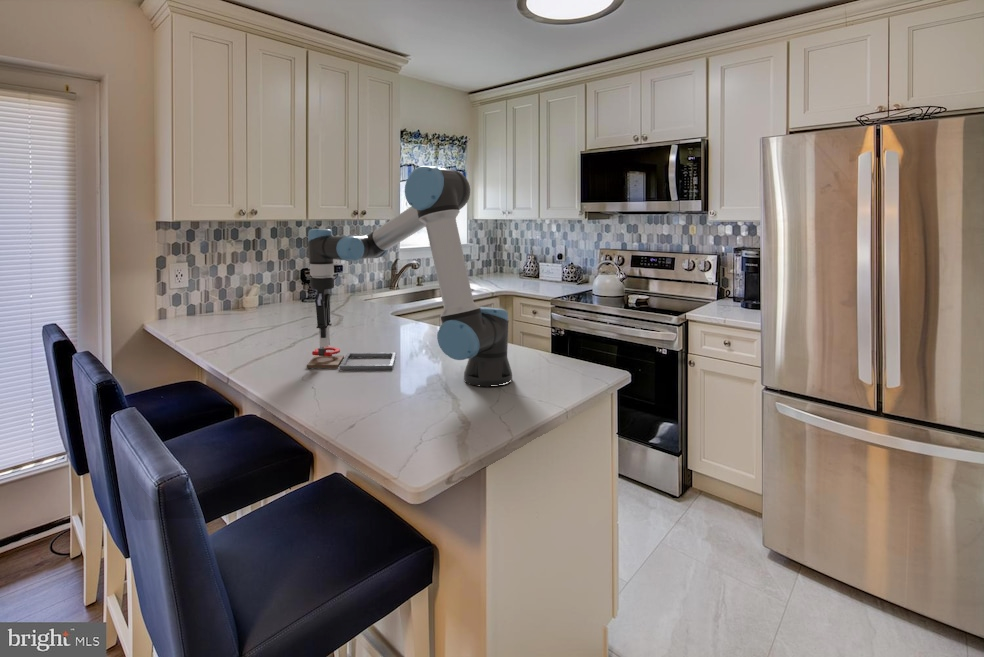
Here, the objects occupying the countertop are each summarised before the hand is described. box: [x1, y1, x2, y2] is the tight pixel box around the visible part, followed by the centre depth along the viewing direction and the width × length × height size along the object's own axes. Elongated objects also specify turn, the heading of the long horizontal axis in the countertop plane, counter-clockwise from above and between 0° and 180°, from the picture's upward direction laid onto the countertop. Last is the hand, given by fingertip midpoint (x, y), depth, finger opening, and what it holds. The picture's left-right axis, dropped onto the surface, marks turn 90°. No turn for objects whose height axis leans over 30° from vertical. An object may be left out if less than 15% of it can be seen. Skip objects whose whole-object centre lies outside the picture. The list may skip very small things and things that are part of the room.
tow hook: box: [311, 346, 341, 356], centre depth 179 cm, size 8×13×9 cm
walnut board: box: [306, 355, 345, 369], centre depth 177 cm, size 12×10×1 cm
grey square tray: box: [339, 352, 397, 371], centre depth 179 cm, size 17×17×2 cm
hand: (325, 345), depth 176 cm, fingers closed on tow hook, 2 cm apart
